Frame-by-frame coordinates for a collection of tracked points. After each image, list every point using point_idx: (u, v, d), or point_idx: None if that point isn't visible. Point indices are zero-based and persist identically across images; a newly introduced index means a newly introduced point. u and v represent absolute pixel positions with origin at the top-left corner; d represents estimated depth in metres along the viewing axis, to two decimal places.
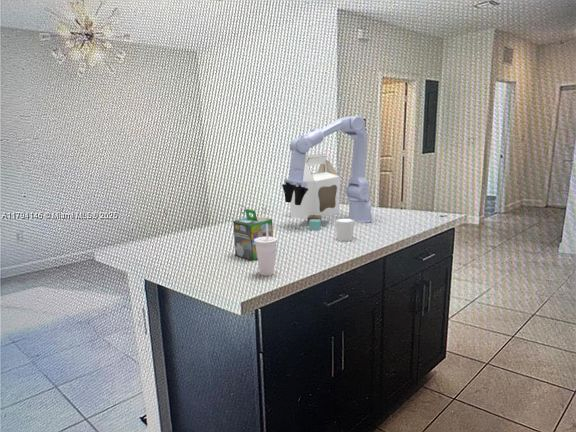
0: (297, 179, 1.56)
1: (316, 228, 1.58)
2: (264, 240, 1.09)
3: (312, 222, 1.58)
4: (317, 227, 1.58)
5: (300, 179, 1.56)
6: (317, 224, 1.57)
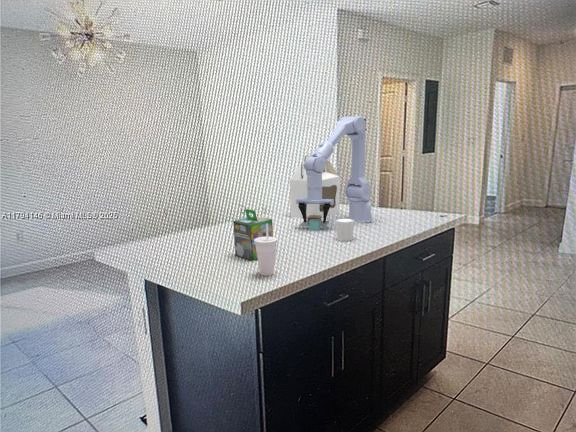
0: (321, 198, 1.56)
1: (316, 228, 1.58)
2: (264, 240, 1.09)
3: (312, 222, 1.58)
4: (317, 227, 1.58)
5: (321, 197, 1.57)
6: (317, 224, 1.58)
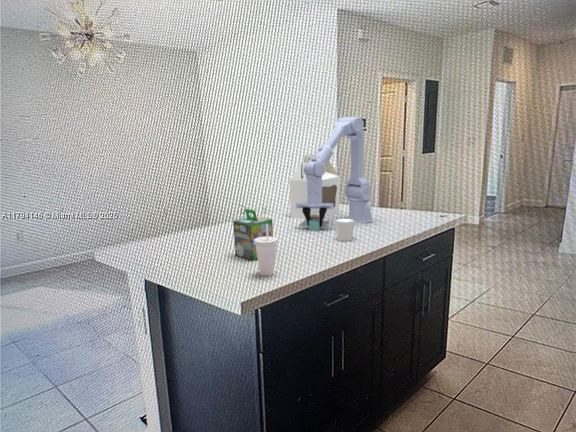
0: (321, 202, 1.57)
1: (316, 228, 1.58)
2: (264, 240, 1.09)
3: (312, 222, 1.58)
4: (317, 227, 1.58)
5: (321, 201, 1.58)
6: (317, 224, 1.57)
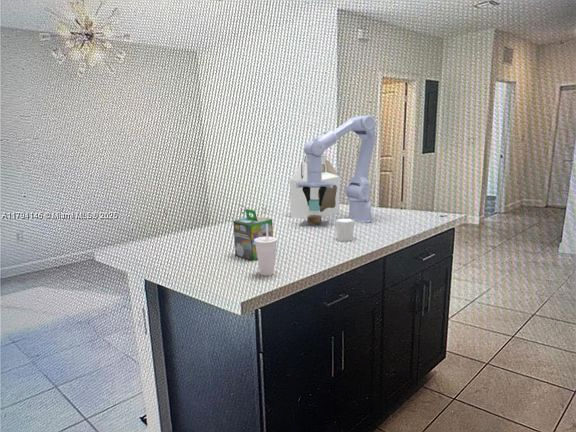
0: (320, 181, 1.61)
1: (316, 207, 1.62)
2: (264, 240, 1.09)
3: (312, 202, 1.62)
4: (317, 206, 1.62)
5: (321, 181, 1.62)
6: (317, 203, 1.61)
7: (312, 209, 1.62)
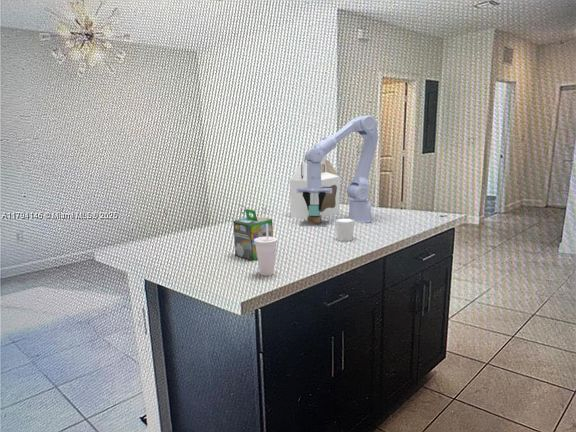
0: (320, 187, 1.66)
1: (315, 212, 1.67)
2: (264, 240, 1.09)
3: (311, 207, 1.67)
4: (316, 211, 1.67)
5: None
6: (316, 208, 1.66)
7: (312, 214, 1.67)
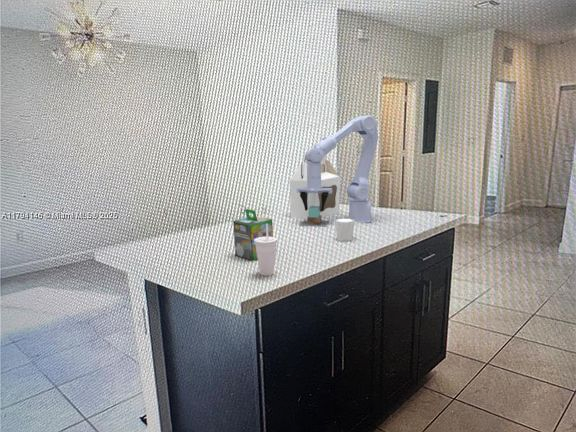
0: (320, 187, 1.66)
1: (315, 214, 1.67)
2: (264, 240, 1.09)
3: (311, 208, 1.67)
4: (316, 213, 1.67)
5: None
6: (316, 210, 1.66)
7: (312, 216, 1.67)
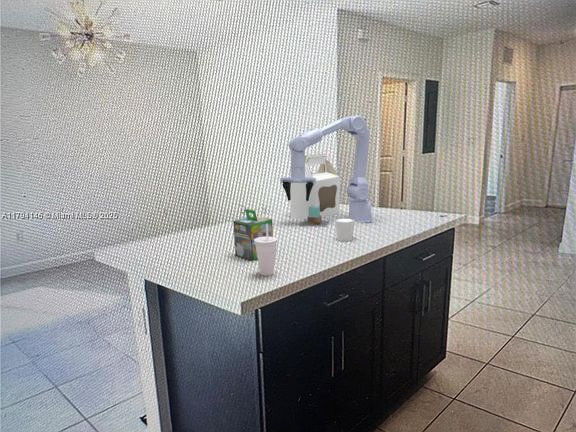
0: (304, 177, 1.63)
1: (315, 214, 1.67)
2: (264, 240, 1.09)
3: (311, 208, 1.67)
4: (316, 213, 1.67)
5: (304, 176, 1.64)
6: (316, 210, 1.66)
7: (312, 216, 1.67)
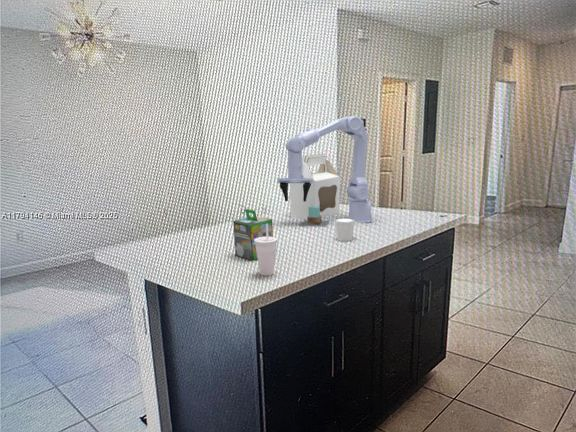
0: (301, 177, 1.63)
1: (315, 214, 1.67)
2: (264, 240, 1.09)
3: (311, 208, 1.67)
4: (316, 213, 1.67)
5: None
6: (316, 210, 1.66)
7: (312, 216, 1.67)
